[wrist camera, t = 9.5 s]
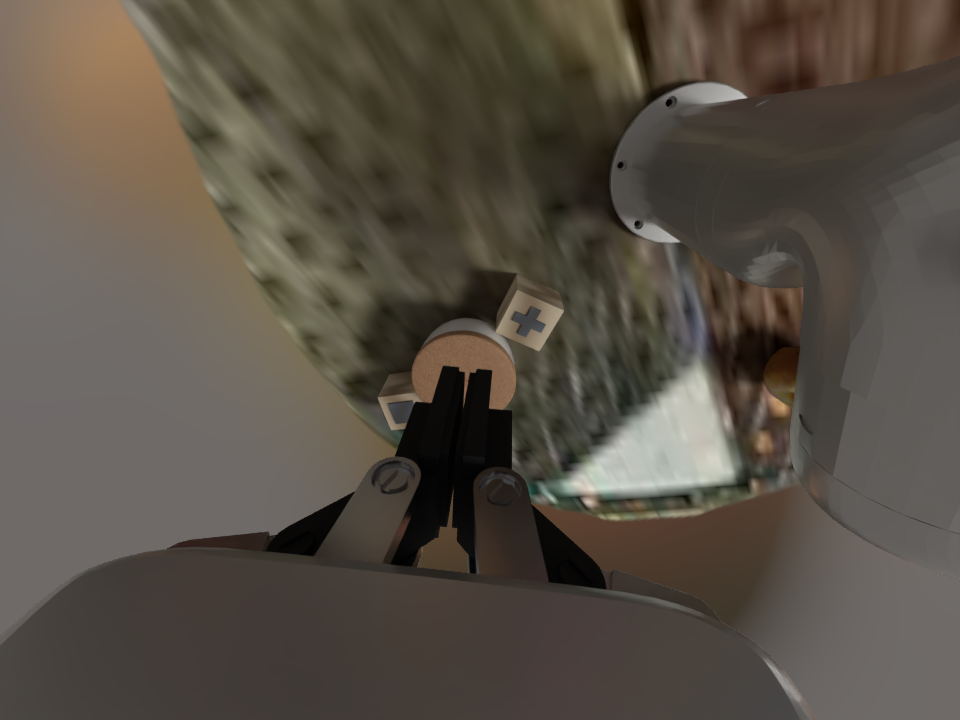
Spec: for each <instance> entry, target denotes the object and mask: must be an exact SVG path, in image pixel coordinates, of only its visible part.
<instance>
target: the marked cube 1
mask: <svg viewBox="0 0 960 720" xmlns="http://www.w3.org/2000/svg"><path fill="white" fill-rule="evenodd" d="M411 372H412V371H409V372H402V373H395V374H389V376H388V378H387V380H386V382H385V384H384V386H383V388H382V390H381V392H380V394H379V395H378V397H377V398H378V400H379V402H380V405H381V407H382V409H383V412H384V414H385V417H386V419H387V421H388V424H389V426H390V428H391V430H397V429H405V427H406V424H407V422H408V419H409V416H410V413H411V411H412V408H413V405H414V403H415V402H416V401H417V402H422V401H421V400H420V399H419V397H418V396H417V394H416V392H415V390H414V387H413V384H412V378H411Z"/></svg>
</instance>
